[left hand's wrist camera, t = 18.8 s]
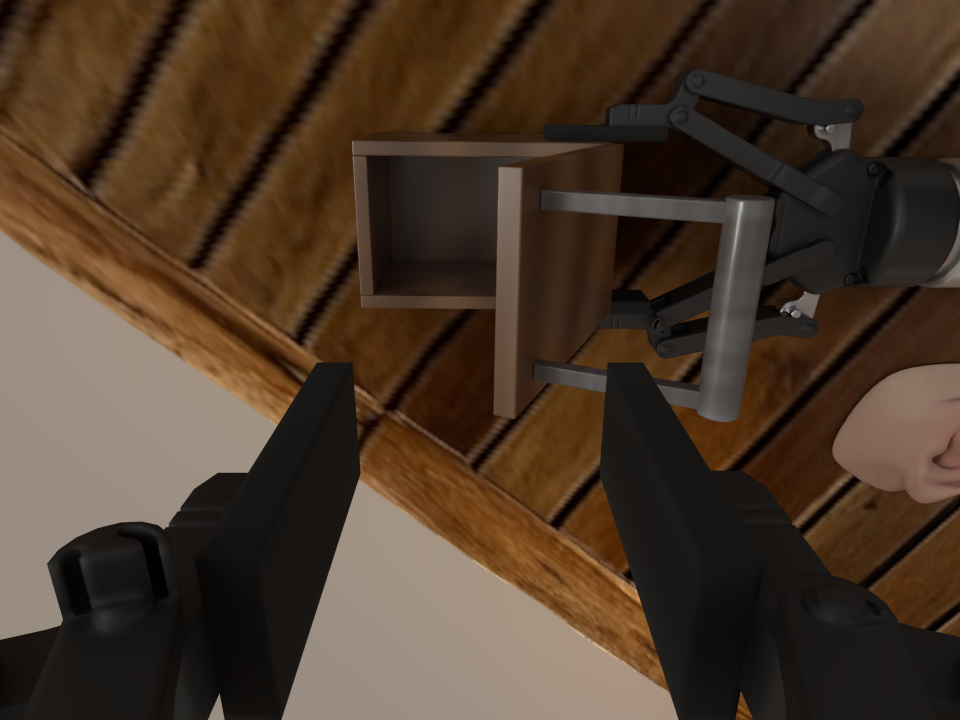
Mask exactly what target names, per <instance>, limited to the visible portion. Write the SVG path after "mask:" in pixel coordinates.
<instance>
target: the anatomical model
mask: <svg viewBox="0 0 960 720" xmlns="http://www.w3.org/2000/svg"><path fill="white" fill-rule="evenodd" d="M833 456H834V458H835V460H836V461H837V462H838V463H839V464H840V465H841V466H842V467H843V468H844V469H845V470H847V471H848V472H850V473H851V474H853V475H854V476H856V477H857V478H858V479H860V480H862V481H863V482H865V483H867V484H869V485H872V486H874V487H876V488H879V489H882V490H885V491H901V490H906V491H907V493H908V494H909V495H910V496H911V497H912V498H913V499H914V500H915V501H917V502H920V503H932V502H937V501H940V500H943V499H946V498H949V497H952V496H955V495H958V494H960V363H958V364H937V365H926V366H919V367H913V368H908V369H905V370H901V371H898V372H896V373H894V374H892V375H890V376H888V377H886V378H885V379H883V380H882V381H880V382H879V383H878V384H876V385H875V386H874V387H873V388H872V389H871V390H870V391H869V392H868V393H867V394H866V395H865V396H864V397H863V398H862V399H861V400H860V402H859V403H858V404H857V405H856V407H855V408H854V409H853V411H852V412H851V413H850V415H849V416H848V418H847V419H846V421H845V422H844V424H843V425H842V427H841V429H840V431H839V432H838V434H837V436H836V438H835V441H834V444H833Z"/></svg>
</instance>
